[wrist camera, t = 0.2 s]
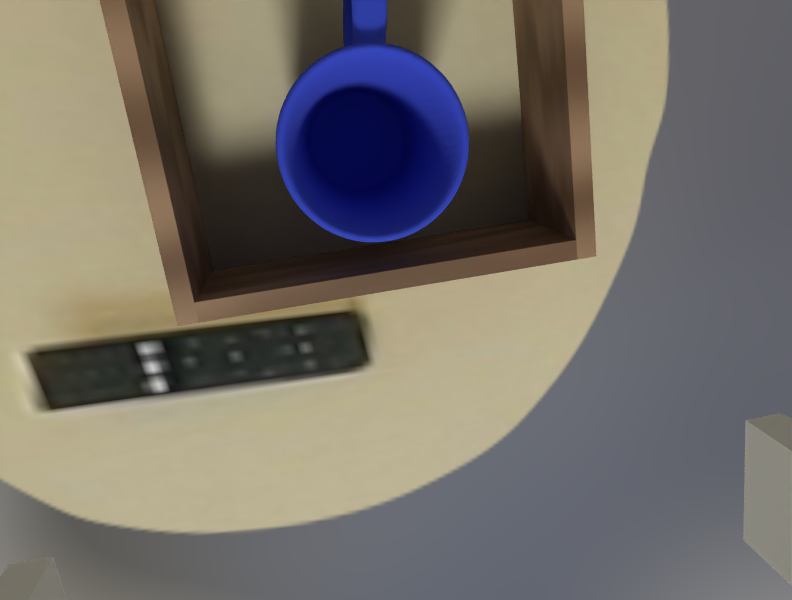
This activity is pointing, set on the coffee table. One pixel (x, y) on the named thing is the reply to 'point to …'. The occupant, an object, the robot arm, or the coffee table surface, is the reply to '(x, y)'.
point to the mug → (372, 135)
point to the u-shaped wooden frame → (385, 263)
